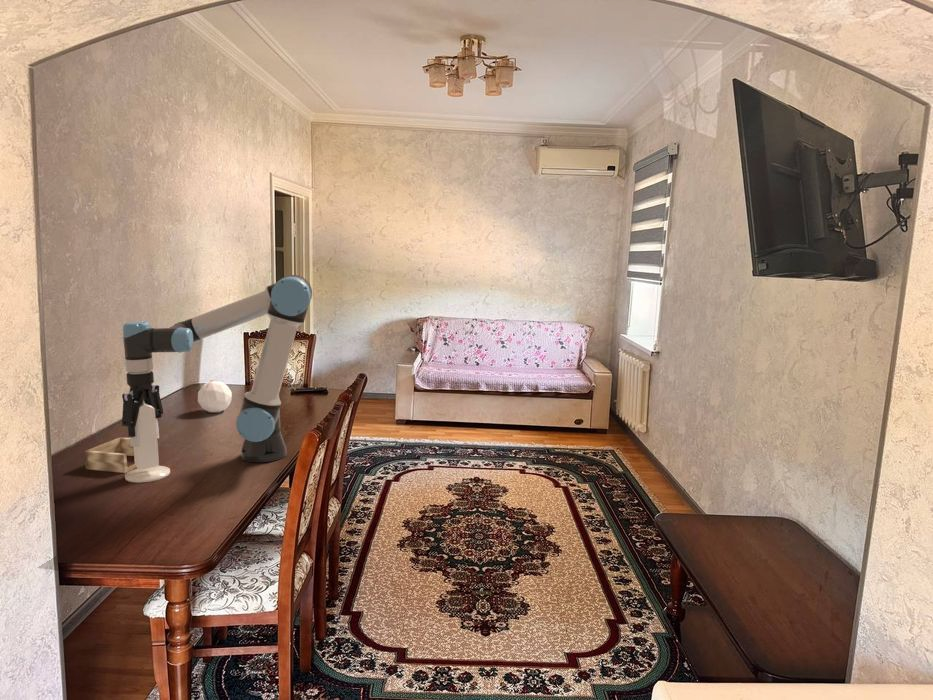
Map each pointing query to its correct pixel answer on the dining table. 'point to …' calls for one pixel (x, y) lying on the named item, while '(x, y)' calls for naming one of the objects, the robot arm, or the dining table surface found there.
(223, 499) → the dining table surface
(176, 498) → the dining table surface
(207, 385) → the geodesic sphere
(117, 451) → the shelf bay
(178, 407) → the dining table surface
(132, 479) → the cream flat disc
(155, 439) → the milk
